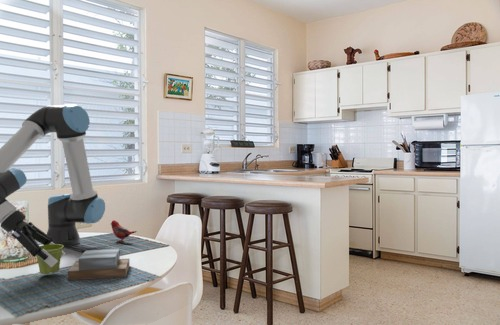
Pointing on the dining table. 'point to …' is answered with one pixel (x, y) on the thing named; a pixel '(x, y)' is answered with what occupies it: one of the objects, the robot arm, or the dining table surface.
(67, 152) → the robot arm
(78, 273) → the brick stand
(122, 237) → the decorative bird figurine
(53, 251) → the plant pot
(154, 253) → the dining table surface
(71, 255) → the dining table surface
